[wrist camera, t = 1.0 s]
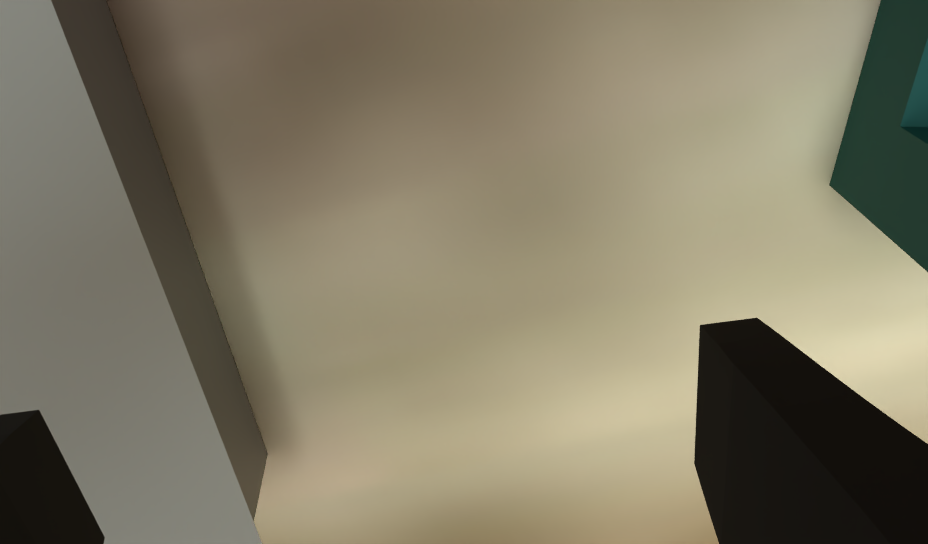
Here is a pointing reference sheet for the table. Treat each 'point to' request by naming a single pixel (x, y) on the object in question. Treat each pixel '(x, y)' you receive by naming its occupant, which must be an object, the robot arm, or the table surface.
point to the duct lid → (96, 313)
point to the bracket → (891, 130)
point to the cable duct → (163, 230)
